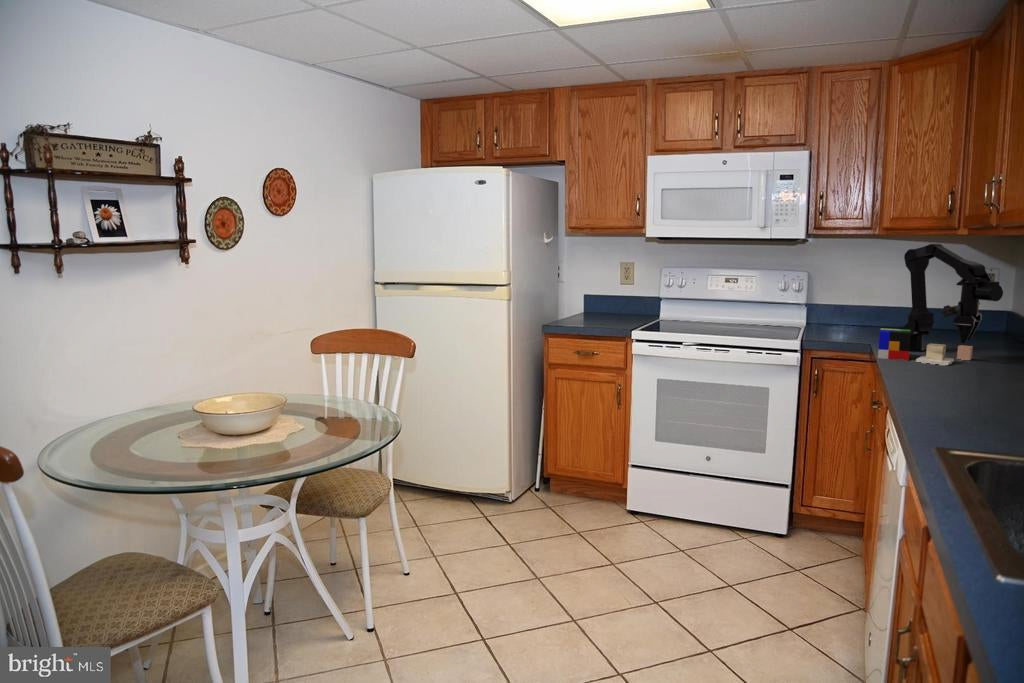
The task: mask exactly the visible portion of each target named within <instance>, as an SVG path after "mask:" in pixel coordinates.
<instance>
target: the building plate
mask: <svg viewBox="0 0 1024 683" xmlns="http://www.w3.org/2000/svg"><path fill="white" fill-rule="evenodd" d="M953 361H954V362H955V358H951V357H945V359H944V360H942V361H940V360H931V359H926V355H921V356H919V357H917V358H916V359H915V363H916V362H921V363H920V364H926V363H930V364H929V365H935V364H939V365H938V366H945V365H949V364H950V365H951V364H953V363H954V362H953ZM952 362H953V363H952ZM950 365H949V366H950Z"/></svg>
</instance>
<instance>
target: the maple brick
mask: <svg viewBox="0 0 1024 683" xmlns="http://www.w3.org/2000/svg"><path fill="white" fill-rule="evenodd" d="M946 350H947V345H946V344H939V343H928V344H926V352H925V353H926V354H925V356H926V359H931V360H940V361H942V360H944V359H945V358H946Z"/></svg>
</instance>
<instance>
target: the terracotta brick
mask: <svg viewBox="0 0 1024 683" xmlns="http://www.w3.org/2000/svg"><path fill="white" fill-rule="evenodd" d="M973 349H974V347H973V345H963V344H962V345H957V353H956V360H957V359H961V360H960V361H962V360H971V359H972V358H973V351H974V350H973ZM972 360H973V359H972ZM972 360H971V361H972Z"/></svg>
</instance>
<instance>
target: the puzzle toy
mask: <svg viewBox="0 0 1024 683" xmlns="http://www.w3.org/2000/svg"><path fill="white" fill-rule="evenodd" d="M878 338H879V339H878V351H877V358H878V359H883V360H886V359H887V360H896V359H904V360H903V361H909V360H910V338H911V330H902V328H901V329H899V328H880V329H879V337H878Z"/></svg>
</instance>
